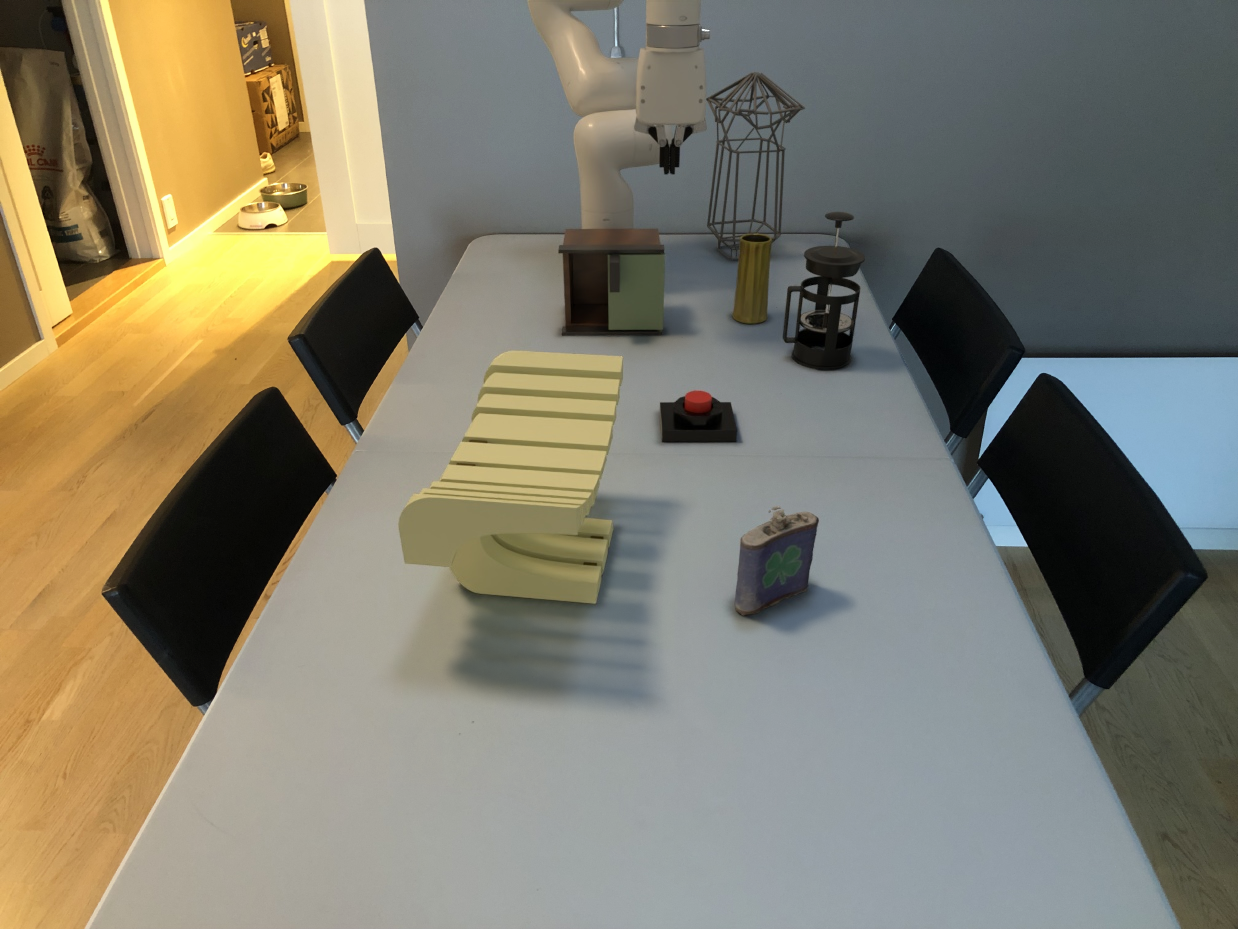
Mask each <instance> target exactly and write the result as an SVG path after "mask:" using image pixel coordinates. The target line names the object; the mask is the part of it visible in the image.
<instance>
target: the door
mask: <svg viewBox="0 0 1238 929" xmlns="http://www.w3.org/2000/svg"><path fill="white" fill-rule="evenodd" d="M665 268H666V253H665V252H664V253H608V315H609V330H662V331H663V330H664V314H665V311H664V310H665V308H664V306H665V270H666V269H665Z"/></svg>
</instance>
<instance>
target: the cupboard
mask: <svg viewBox="0 0 1238 929" xmlns="http://www.w3.org/2000/svg"><path fill="white" fill-rule="evenodd" d="M563 236H564V237H563V241H562V244H559V245H558V249H557V250H558V251H557V252H558V254H562V271H563V272H562V273H563V294H564V295H563V296H564V322H565V325H563V326H562V328H561V336H663V330H609V315H608V253H665V245H664V244H661V240H660V231H659V228H633V229H582V228H565V231H564V235H563Z"/></svg>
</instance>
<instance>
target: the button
mask: <svg viewBox="0 0 1238 929" xmlns="http://www.w3.org/2000/svg"><path fill="white" fill-rule="evenodd" d="M684 396H685V409H686V410H687V411H690V412H694V413H704V412H708V411H710V410H711V402H712V397H713V396H712V394H710V393H709V392H707V391H705V390H690V391H688V392H687V393H686V394H685V395H684Z"/></svg>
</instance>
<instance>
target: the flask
mask: <svg viewBox="0 0 1238 929" xmlns="http://www.w3.org/2000/svg"><path fill="white" fill-rule="evenodd" d="M771 510H773V514H772V517H771V518H770V520H768V521H766V522H765V523H762V524H760V525H758V526H756V527H755V528H753V529H751V530H749V531H747V532H746V533H744V534H743V535H741V537H740V539H739V540H740V542H739V544H740V545H739V554H738V565H737V566H738V567H737V574H736V575H737V578H736V586H735V595H734V601H733V605H734V609H735V611H736V612H738V613H739V614H740V615H741V616H746V615H755V614H759V613H760V612H761V610H764V609H766V608H770V607H772V606H776V605H778V604H780V602H781V600H783V599H785V600H788V599H789V598H790V597H791V596H797V595H798V594H802V593H804V592H806V591H807V590H808V587H809V580H810V570H811V567H812V562H813V557H814V549H815V542H816V537H817V532H818V527H819V521H820V519H819V517H818V516H817V515H815V514H814V513H811V512H810V511H806V510H805V511H799V512H796V513H792V514H785V509H782V507H781V506H779V505H778V506H777V505H776V506H772V507H771ZM771 510H768V513H771V512H772V511H771Z"/></svg>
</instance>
